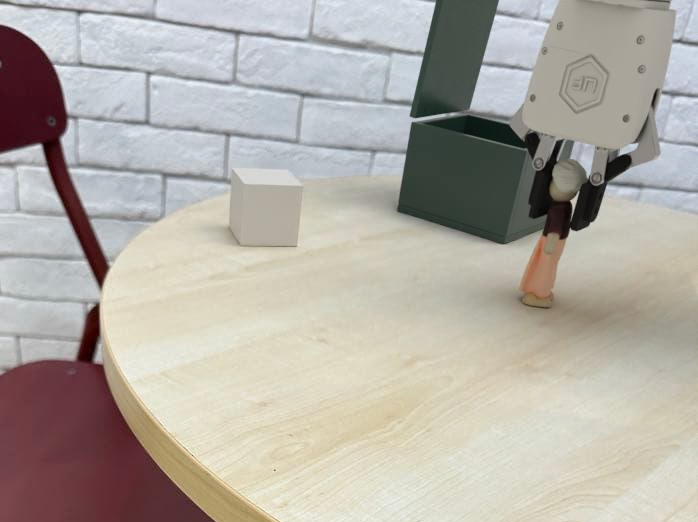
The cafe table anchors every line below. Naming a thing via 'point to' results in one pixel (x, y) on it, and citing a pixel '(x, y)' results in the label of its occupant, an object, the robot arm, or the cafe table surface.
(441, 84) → the bin lid
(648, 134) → the robot arm
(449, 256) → the cafe table surface
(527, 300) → the grandmother figurine
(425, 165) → the bin
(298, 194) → the light grey cube
